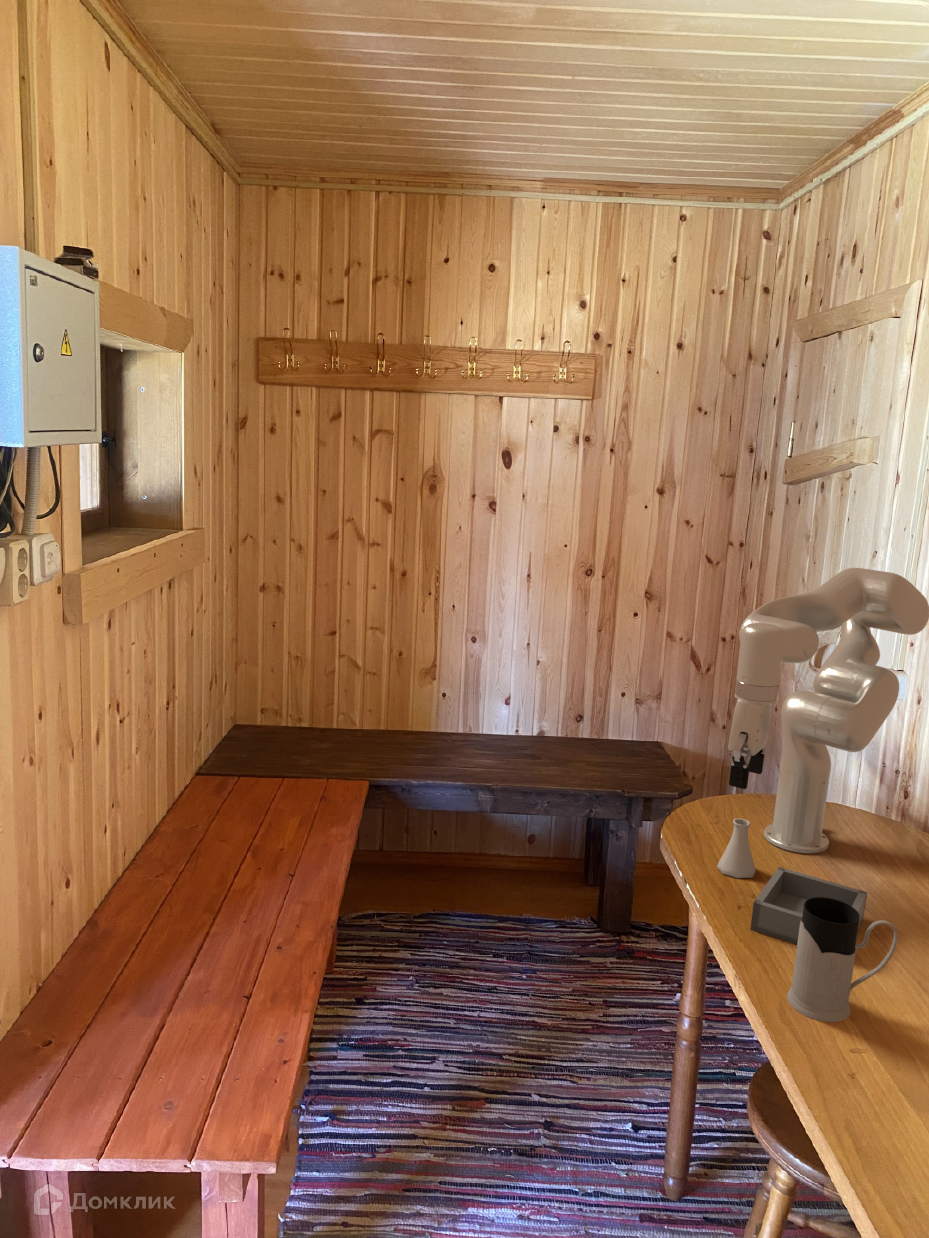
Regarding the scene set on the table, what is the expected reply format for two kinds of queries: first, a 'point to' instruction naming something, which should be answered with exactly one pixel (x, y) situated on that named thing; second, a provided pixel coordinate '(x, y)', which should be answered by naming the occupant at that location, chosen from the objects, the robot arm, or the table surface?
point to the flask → (738, 853)
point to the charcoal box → (796, 902)
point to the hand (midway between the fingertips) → (745, 779)
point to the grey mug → (828, 959)
